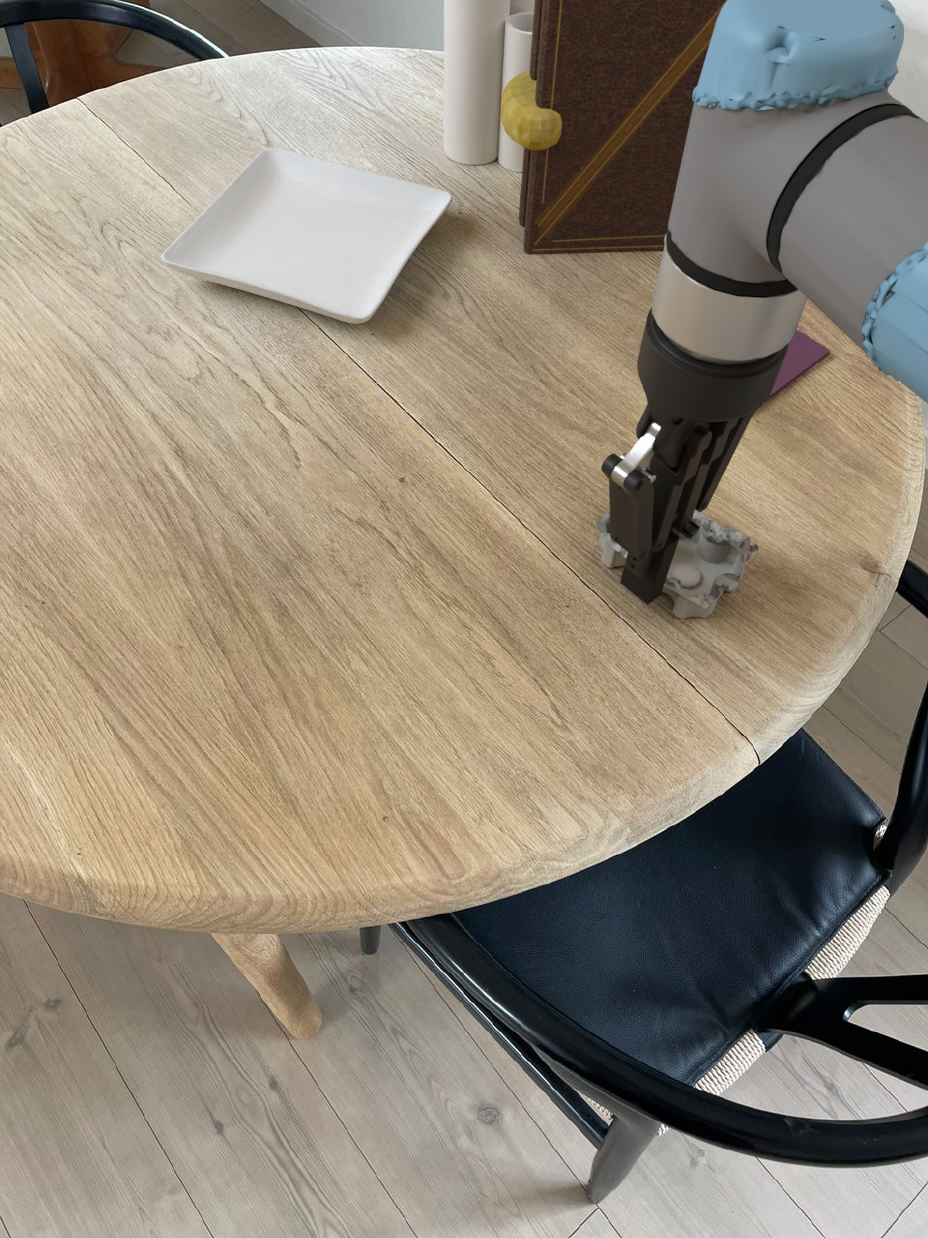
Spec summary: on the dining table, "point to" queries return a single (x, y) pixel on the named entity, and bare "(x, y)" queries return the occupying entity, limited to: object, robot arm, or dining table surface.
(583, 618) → the dining table surface
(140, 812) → the dining table surface
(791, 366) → the tea towel
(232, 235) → the plate
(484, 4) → the vase
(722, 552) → the egg carton
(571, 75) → the book
